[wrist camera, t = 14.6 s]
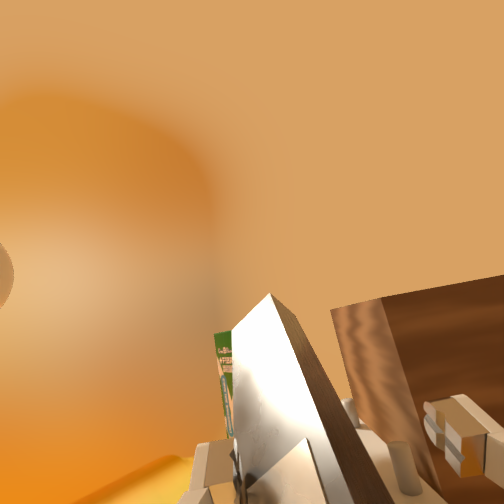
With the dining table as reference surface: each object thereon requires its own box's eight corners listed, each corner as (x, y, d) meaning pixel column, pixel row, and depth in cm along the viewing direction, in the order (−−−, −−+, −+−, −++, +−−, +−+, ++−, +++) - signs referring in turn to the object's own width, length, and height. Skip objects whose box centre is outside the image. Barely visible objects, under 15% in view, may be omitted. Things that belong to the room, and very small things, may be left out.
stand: (758, 789, 12) (512, 273, 19) (550, 830, 12) (380, 297, 19) (488, 536, 26) (405, 295, 33) (393, 554, 26) (330, 309, 33)
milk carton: (298, 462, 47) (271, 322, 54) (258, 487, 41) (234, 328, 48) (268, 449, 54) (247, 326, 61) (231, 469, 48) (213, 333, 55)
